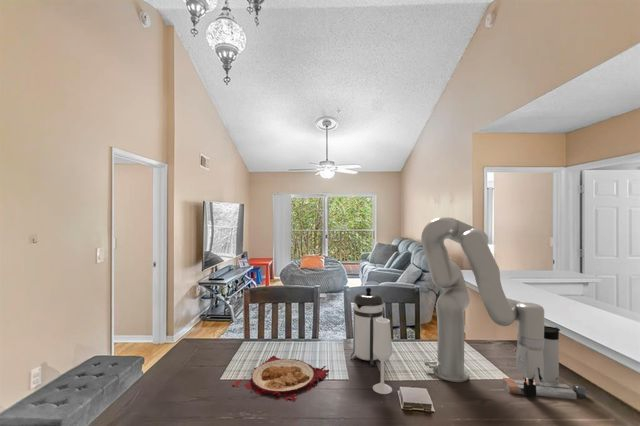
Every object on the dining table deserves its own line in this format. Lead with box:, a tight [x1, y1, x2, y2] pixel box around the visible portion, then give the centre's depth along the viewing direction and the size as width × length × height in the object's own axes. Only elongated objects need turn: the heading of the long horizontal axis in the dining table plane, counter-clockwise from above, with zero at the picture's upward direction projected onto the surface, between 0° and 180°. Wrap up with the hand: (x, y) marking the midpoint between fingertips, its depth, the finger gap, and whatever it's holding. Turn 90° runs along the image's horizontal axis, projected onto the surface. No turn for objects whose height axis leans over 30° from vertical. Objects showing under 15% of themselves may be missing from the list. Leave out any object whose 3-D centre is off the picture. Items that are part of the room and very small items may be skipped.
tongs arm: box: [505, 382, 577, 400], centre depth 111 cm, size 20×3×2 cm, turn 79°
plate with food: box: [232, 355, 330, 403], centre depth 120 cm, size 25×26×4 cm
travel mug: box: [539, 325, 561, 384], centre depth 119 cm, size 6×7×20 cm
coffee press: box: [350, 287, 386, 367], centre depth 138 cm, size 17×16×30 cm
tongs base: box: [502, 377, 587, 399], centre depth 113 cm, size 25×5×3 cm, turn 80°
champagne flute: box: [372, 317, 393, 395], centre depth 114 cm, size 7×7×24 cm
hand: (529, 395), depth 109 cm, fingers closed
